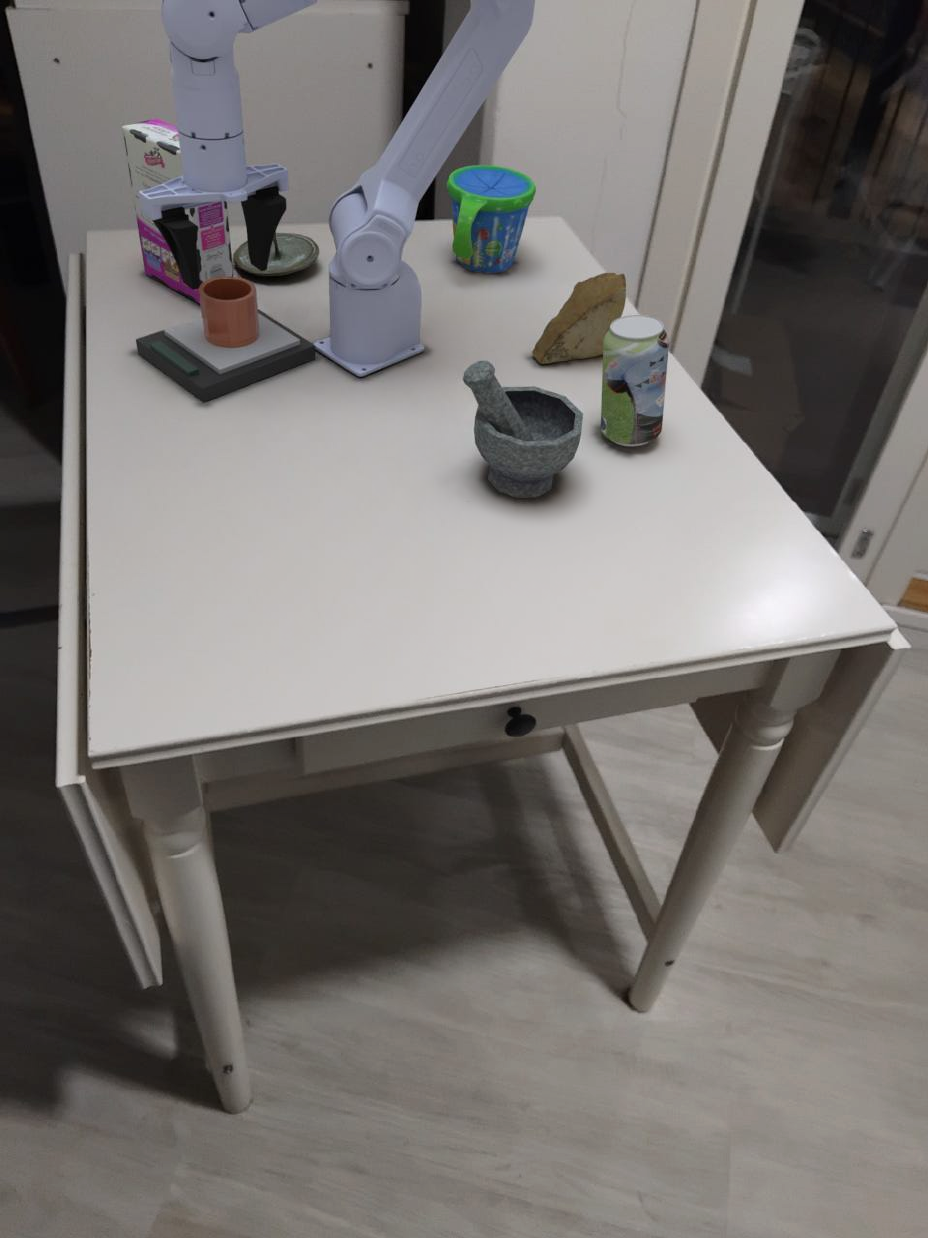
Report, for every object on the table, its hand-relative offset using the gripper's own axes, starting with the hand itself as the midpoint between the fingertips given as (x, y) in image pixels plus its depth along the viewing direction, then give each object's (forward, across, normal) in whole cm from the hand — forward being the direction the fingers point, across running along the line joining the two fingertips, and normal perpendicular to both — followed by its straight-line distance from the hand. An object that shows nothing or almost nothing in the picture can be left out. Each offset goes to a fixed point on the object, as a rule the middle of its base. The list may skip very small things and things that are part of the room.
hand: (225, 275), depth 94 cm
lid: (+9, +15, +15) cm, 24 cm away
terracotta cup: (+7, 0, 0) cm, 7 cm away
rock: (+9, +32, -20) cm, 38 cm away
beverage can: (+9, +24, -34) cm, 43 cm away
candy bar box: (+9, +4, +17) cm, 19 cm away
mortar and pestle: (+9, +10, -33) cm, 36 cm away
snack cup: (+9, +38, +3) cm, 39 cm away
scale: (+9, -1, 0) cm, 9 cm away
